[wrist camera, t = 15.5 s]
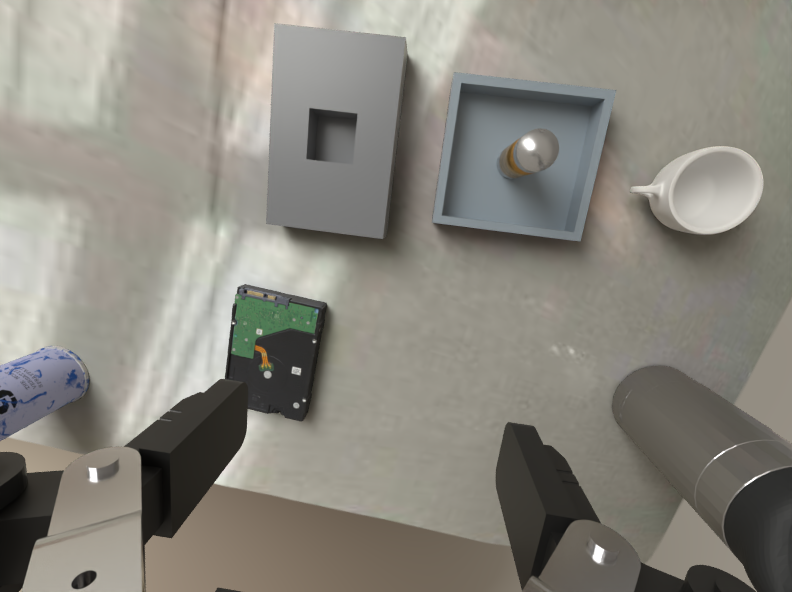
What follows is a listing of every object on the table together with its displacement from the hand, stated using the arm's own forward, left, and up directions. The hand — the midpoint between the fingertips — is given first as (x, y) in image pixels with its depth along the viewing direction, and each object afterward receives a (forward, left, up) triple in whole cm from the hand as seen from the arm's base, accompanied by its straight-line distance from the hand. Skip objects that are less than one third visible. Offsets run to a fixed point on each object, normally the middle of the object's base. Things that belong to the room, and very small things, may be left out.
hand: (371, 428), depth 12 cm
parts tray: (-9, -12, -32) cm, 35 cm away
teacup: (-25, -11, -32) cm, 42 cm away
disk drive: (+15, +12, -33) cm, 38 cm away
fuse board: (+9, -12, -32) cm, 35 cm away
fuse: (-9, -12, -31) cm, 35 cm away
